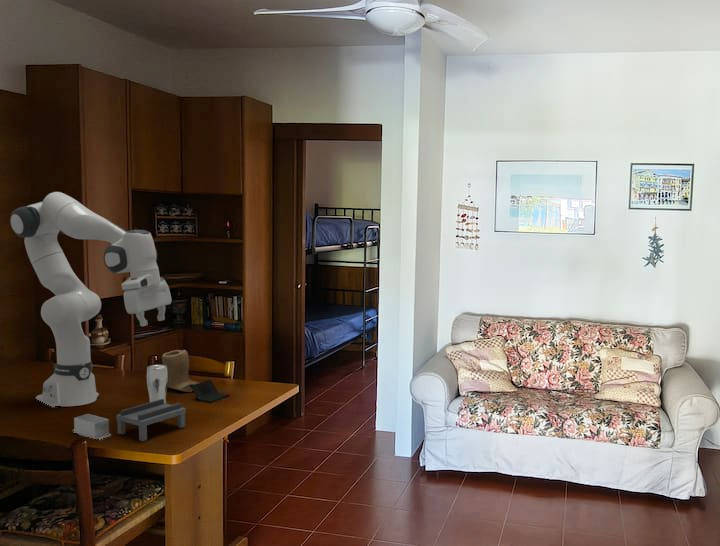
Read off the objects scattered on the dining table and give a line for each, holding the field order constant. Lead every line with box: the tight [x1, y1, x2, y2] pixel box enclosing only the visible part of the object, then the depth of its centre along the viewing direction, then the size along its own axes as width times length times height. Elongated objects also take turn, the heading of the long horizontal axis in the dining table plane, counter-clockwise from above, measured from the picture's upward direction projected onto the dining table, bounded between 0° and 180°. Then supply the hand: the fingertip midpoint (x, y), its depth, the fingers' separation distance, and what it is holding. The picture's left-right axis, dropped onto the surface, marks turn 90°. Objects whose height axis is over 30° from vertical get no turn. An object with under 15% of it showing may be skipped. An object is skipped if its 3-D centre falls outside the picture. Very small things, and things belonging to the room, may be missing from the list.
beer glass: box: [146, 364, 169, 404], centre depth 240 cm, size 7×7×15 cm
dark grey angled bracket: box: [191, 379, 231, 404], centre depth 256 cm, size 12×7×10 cm
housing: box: [72, 413, 112, 441], centre depth 215 cm, size 13×5×5 cm, turn 56°
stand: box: [115, 399, 187, 442], centre depth 219 cm, size 12×17×8 cm
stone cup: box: [161, 349, 199, 393], centre depth 267 cm, size 15×12×15 cm
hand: (153, 323), depth 223 cm, fingers open, 8 cm apart
